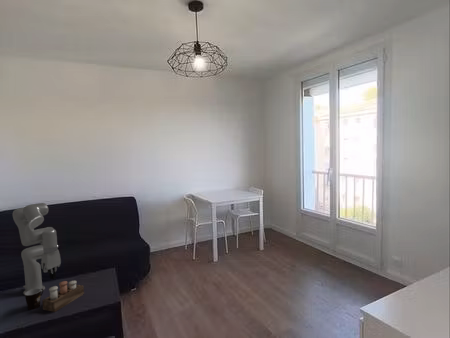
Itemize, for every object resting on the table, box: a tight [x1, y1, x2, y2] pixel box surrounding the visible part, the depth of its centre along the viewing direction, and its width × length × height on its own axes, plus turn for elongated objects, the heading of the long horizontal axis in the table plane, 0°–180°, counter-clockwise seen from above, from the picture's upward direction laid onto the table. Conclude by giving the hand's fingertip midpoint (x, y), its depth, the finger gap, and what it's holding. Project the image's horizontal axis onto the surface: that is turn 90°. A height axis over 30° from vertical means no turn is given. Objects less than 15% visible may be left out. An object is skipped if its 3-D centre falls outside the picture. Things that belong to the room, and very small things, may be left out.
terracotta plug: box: [58, 280, 68, 295], centre depth 181 cm, size 5×5×8 cm
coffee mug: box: [24, 288, 44, 311], centre depth 177 cm, size 12×9×10 cm
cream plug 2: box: [67, 280, 77, 290], centre depth 188 cm, size 5×5×8 cm
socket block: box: [41, 284, 85, 313], centre depth 181 cm, size 10×22×6 cm, turn 161°
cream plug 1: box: [48, 285, 59, 301], centre depth 174 cm, size 5×5×8 cm
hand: (52, 278), depth 174 cm, fingers closed
